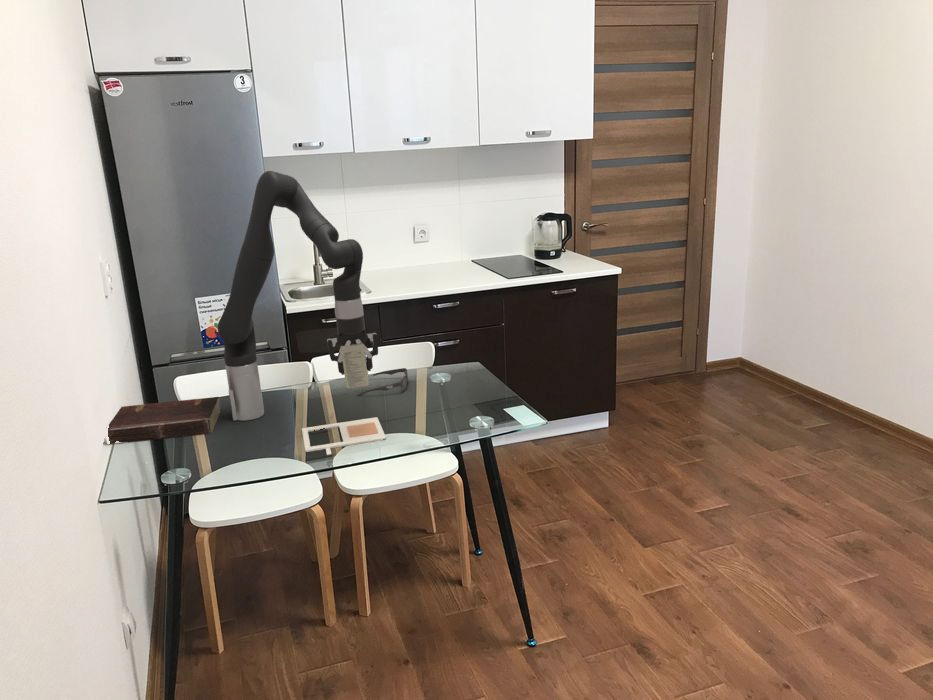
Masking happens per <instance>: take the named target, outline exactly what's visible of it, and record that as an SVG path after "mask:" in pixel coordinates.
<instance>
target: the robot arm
mask: <svg viewBox="0 0 933 700" xmlns="http://www.w3.org/2000/svg"><path fill="white" fill-rule="evenodd" d="M253 196H254V197H253V199H252V200H253V202H252V207H251V213H250V217H249V220H248V221H249V222H248V225H247V229H246V232H245V235H244V240H243V243H242V245H241V248H240V251H239V254H238V258H237V261H236V265H235V266H236V267H235V269H234V273H233V279H232V284H231V289H230V294H229V298H228V300H227V303H226V306H225V308H224V310H223V312H222V315H221V316H220V319H218V323H217V332H218V333H217V334H218V336H219V337H220V339H221V340H222V341H223V345H224V346H223V347H224V348H223V349H224V351H223V352H224V354H223V360H224V366H225V372H226V377H227V385H228V397H229V403H230V409H231V414H232V415H231V416H232V420H233V421H243V422H245V421H252V420H256V419H259V418H261V417H263V416H264V415H265V406H264V402H263V401H264V399H263V393H262V388H261V386H262V385H261V382H260V381H261V380H260V379H261V378H260V373H259V367H258V359H257V343H256V335H255V334H256V333H255V327H254V321H253V312H254V308H255V305H256V302H257V299H258V297H259V296H260V293H261V292H262V289H263V288H264V284H265V283H266V280H267V278H268V275H269V273H270V269H271V266H272V264H273V260H274V256H275V246H274V241H273V237H272V231H271V218H272V213H273V210H274V207H278V208H286V209H287V210H289V211H291V212H292V213H293V214H295V216H297V217H298V219H299V226H300V229H301V230H302V231H303V233H304V235H306V237H307V238H308V239H309V240H310V241H311V242H312V243H313V244H314V245H315V246H316V248H317V250H318V253H319V254H320V257H321V259H322V261H323V263H324V264H325V266H327V267H328V268H330V269H332V270H339V269H343V272H342V273H341V274H340V275H338V276H336V277H335V278H334V279H333V280H332V289H333V296H334V314H335V315H334V316H335V320H336V329H337V336H336V337H334V338H330V337H329V338H327V339H326V343H327V348H328V354H329V358H330V360H331V361H332V362H337V370H338V373H339V374H341V375H342V376H345V374H344V367H343V360H342V354H344V348H343V350H342V352H341V346H344V347H345V346H350V345H351V344H363V347H364V353H365V354H366V362H367V370H368V372H371V371H372V370H371V369H373V367H374V365H373V358H374V356H378V354H379V341H378V339H379V336H378V334H377V332H374V331H373V332H372V333H367V331H366V325H365V324H366V323H365V316H364V305H363V300H362V296H361V295H362V294H361V286H360V279H361V273H362V267H363V262H364V261H363V260H364V253H363V251H364V250H363V248H362V245H361V244H360V243H359V241H357V240H356V239H353V238H351V239H349V238H348V239H344V240H339V238H340V234H339V231H338V230H337V229H336V227H335V226H334V225H333V224H332V223H331V222H330V221H329V220H328V219H327V218H326V217H325V216H324V215H323V214H322V213H321V211H319V210H318V209H317V207H316V206H315V205H314V203H313V202H312V201H311V199H310V197H309V196H308V195H307V193H306V192H305V190H304V189H303V187H302V186H301V184H300V183H299V182H298V180H297V179H296V178H295V177H293V176H291V175H288V174H284V173H280V172H276V171H273V170H266V171H264V172H263V173H262V174H261V175H260V177H259V179H258V181H257V183H256V187H255V191H254V195H253ZM368 339H369V340H370V342H371V343H372V350H369V349H368V348H367V346H366V345H365V343H366V342H367V340H368ZM336 343H338V344H339V345H340V348H339V352H338V354H337V355H336V354H335V351H334V347H336Z"/></svg>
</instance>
